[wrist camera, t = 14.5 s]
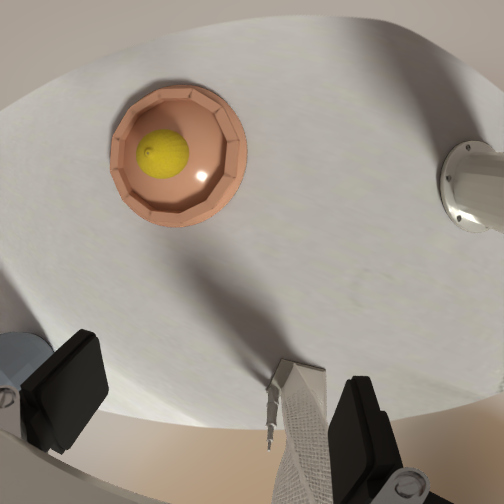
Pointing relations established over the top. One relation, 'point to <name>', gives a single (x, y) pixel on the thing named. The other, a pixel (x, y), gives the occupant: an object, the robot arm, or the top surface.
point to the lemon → (162, 154)
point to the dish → (200, 156)
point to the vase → (21, 357)
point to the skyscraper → (301, 434)
